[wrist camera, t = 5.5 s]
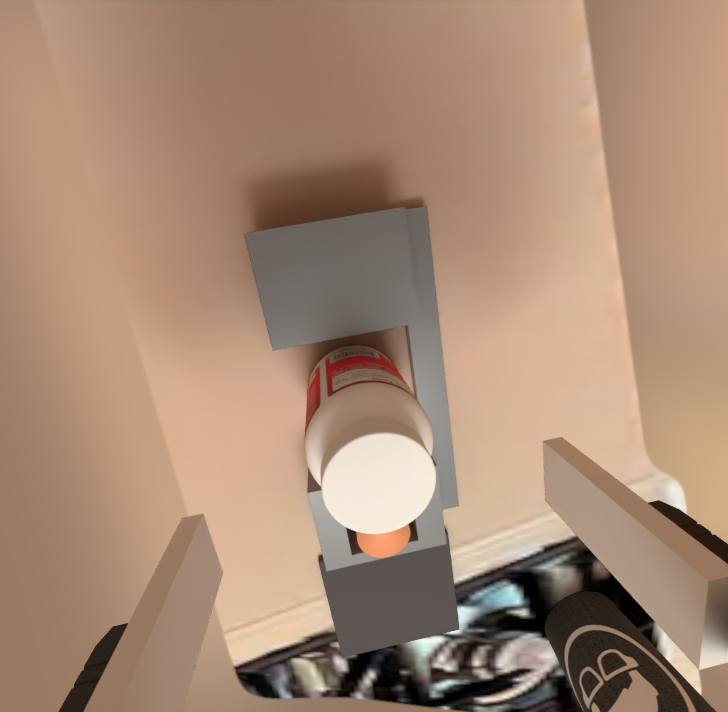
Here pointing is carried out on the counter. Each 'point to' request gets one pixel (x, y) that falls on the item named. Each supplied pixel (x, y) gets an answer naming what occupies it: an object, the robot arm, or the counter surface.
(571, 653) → the coffee cup
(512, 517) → the counter surface
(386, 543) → the plunger
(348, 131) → the counter surface
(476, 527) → the counter surface
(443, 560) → the mat
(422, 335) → the housing
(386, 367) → the pill bottle
